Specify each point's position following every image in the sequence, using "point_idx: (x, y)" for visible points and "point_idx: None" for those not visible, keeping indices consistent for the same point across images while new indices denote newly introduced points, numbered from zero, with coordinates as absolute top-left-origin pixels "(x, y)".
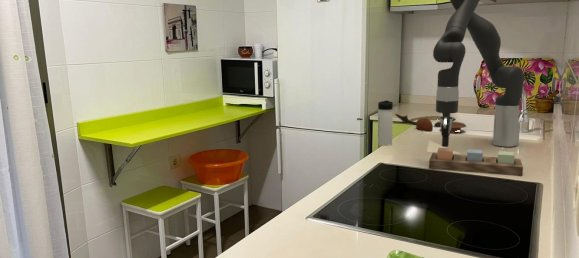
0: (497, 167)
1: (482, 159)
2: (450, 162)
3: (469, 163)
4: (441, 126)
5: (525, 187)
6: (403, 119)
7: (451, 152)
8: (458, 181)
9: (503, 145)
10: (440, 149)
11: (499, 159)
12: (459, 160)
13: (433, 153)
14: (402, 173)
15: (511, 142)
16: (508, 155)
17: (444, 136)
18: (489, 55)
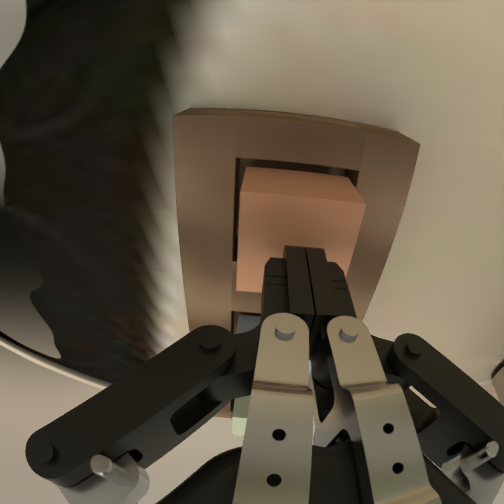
0: None
1: None
2: (180, 243)
3: (188, 320)
4: (41, 431)
5: (107, 373)
6: None
7: (237, 281)
8: (52, 247)
9: (502, 370)
10: (292, 215)
11: (234, 402)
12: (231, 288)
13: (406, 149)
14: (60, 15)
15: (496, 388)
16: (233, 427)
17: (252, 338)
18: None
